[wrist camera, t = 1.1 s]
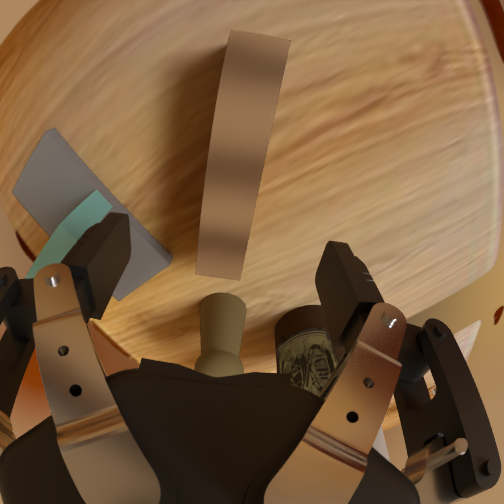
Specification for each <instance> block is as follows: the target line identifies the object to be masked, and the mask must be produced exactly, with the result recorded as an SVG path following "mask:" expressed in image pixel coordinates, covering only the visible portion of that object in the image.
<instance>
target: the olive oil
mask: <svg viewBox="0 0 504 504" xmlns="http://www.w3.org/2000/svg"><path fill="white" fill-rule="evenodd" d="M275 346H276V362H277V373H284V374H290V378H291V384H293V385H296V386H299V387H302V388H304V389H306V390H308V391H311V392H312V393H314V394H315V395H317V396H318V395H319V393H320V392H321V390H322V389H323V387H324V386H325V384H326V382H327V381H328V379H329V378H330V376H331V374H332V373H333V371H334V369H335V367H336V366H337V364H338V362H339V361H340V359H341V357H342V356H343V354H344V353H345V348H344V347H333V345H332V342H331V338H330V334H329V331H328V327H327V323H326V320H325V316H324V313H323V309H322V306H316V305H314V306H305V307H301V308H298V309H295V310H293V311H291V312H289V313H288V314H286V315H285V316H283V317H282V318H281V319H280V320H279V322H278V323H277V325H276V328H275Z"/></svg>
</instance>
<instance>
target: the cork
mask: <svg viewBox="0 0 504 504" xmlns="http://www.w3.org/2000/svg"><path fill="white" fill-rule="evenodd" d="M246 310H247V309H246V305H245V303H244V302H243V301H242V300H241V299H240V298H238V297H237V296H235V295H232V294H229V293H215V294H211V295H209V296H207V297H205V298H204V299H203V300H202V302H201V304H200V336H201V356H200V357H199V358H198V360H197V362H196V364H195V371H198V372H201V373H203V374H206V375H209V376H213V377H224V376H231V375H239V374H244V368H243V365H242V362H241V360H240V359H239V352H240V346H241V340H242V334H243V328H244V322H245V316H246Z"/></svg>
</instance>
